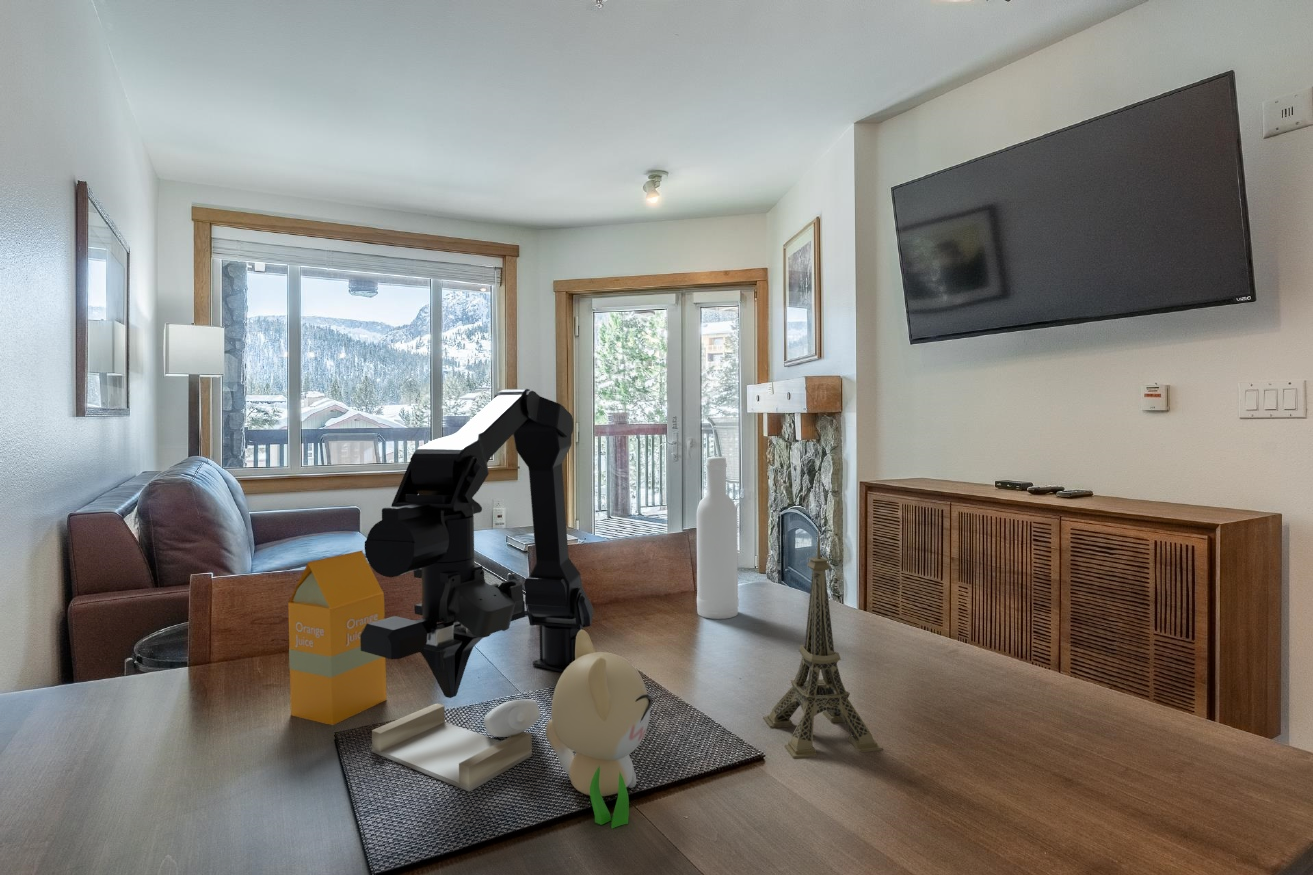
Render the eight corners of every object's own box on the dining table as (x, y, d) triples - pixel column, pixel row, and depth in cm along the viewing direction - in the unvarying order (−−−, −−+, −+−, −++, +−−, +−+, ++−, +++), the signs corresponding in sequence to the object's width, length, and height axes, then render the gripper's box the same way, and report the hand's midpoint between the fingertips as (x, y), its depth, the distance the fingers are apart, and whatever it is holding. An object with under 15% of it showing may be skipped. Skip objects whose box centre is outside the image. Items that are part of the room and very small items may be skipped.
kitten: (673, 821, 66) (671, 661, 66) (566, 840, 63) (563, 673, 63) (632, 749, 80) (631, 618, 80) (544, 762, 77) (542, 626, 77)
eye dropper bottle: (527, 739, 85) (542, 743, 74) (480, 733, 84) (489, 736, 73) (534, 701, 87) (550, 699, 76) (488, 694, 85) (498, 692, 75)
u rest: (372, 751, 80) (371, 730, 80) (436, 723, 88) (436, 703, 88) (469, 791, 71) (468, 767, 71) (531, 755, 79) (531, 733, 79)
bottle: (694, 618, 132) (693, 458, 132) (699, 607, 140) (697, 456, 139) (737, 620, 131) (736, 458, 130) (739, 608, 139) (738, 456, 138)
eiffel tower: (882, 750, 80) (882, 528, 79) (793, 758, 78) (791, 532, 77) (843, 712, 90) (841, 516, 89) (763, 719, 88) (761, 519, 88)
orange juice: (387, 699, 95) (384, 552, 95) (332, 725, 87) (329, 564, 87) (345, 690, 99) (342, 548, 98) (289, 715, 91) (285, 559, 90)
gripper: (426, 582, 67) (429, 746, 67) (558, 551, 82) (560, 684, 83) (355, 570, 73) (358, 720, 73) (491, 543, 89) (493, 666, 89)
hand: (450, 696), depth 79 cm, fingers closed
